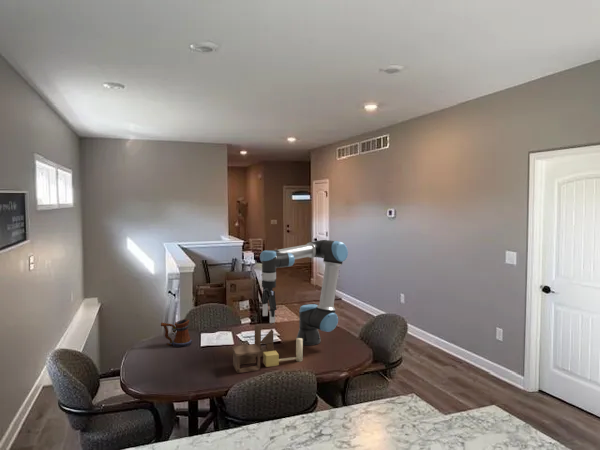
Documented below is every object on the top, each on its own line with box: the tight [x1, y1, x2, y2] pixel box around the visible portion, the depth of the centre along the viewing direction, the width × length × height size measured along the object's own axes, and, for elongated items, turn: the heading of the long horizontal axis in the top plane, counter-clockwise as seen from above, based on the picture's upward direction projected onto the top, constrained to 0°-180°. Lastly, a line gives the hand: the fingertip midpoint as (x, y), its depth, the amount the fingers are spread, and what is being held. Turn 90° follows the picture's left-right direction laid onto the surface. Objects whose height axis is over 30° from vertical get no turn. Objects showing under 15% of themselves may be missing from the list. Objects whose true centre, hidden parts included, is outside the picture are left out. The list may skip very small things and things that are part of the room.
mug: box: [160, 318, 193, 348], centre depth 258 cm, size 18×12×15 cm, turn 108°
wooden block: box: [254, 323, 274, 358], centre depth 241 cm, size 4×11×18 cm, turn 111°
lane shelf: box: [231, 343, 261, 374], centre depth 224 cm, size 13×12×10 cm
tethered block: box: [262, 337, 304, 368], centre depth 231 cm, size 22×6×12 cm, turn 110°
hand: (268, 319), depth 227 cm, fingers open, 13 cm apart
